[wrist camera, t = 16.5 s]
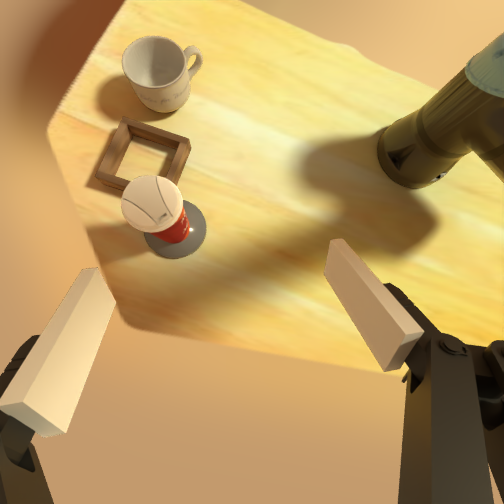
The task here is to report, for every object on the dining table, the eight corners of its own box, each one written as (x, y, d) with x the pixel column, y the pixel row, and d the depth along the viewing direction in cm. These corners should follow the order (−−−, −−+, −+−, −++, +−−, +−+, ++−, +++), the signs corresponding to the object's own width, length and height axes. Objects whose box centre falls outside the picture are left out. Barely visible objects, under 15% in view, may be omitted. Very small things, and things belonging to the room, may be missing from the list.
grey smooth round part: (158, 192, 45) (157, 191, 44) (214, 211, 45) (214, 210, 45) (135, 247, 43) (134, 246, 42) (194, 266, 43) (194, 265, 43)
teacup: (146, 126, 47) (129, 93, 39) (132, 79, 48) (113, 37, 40) (214, 111, 49) (212, 76, 41) (199, 66, 50) (194, 24, 42)
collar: (129, 127, 46) (123, 116, 43) (191, 148, 47) (188, 138, 44) (103, 184, 44) (94, 176, 41) (168, 205, 44) (164, 199, 42)
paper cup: (204, 232, 44) (193, 206, 30) (169, 258, 42) (140, 242, 29) (178, 200, 44) (156, 158, 30) (143, 224, 43) (103, 192, 29)
